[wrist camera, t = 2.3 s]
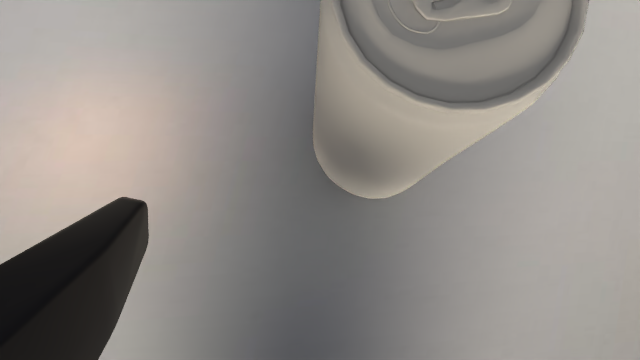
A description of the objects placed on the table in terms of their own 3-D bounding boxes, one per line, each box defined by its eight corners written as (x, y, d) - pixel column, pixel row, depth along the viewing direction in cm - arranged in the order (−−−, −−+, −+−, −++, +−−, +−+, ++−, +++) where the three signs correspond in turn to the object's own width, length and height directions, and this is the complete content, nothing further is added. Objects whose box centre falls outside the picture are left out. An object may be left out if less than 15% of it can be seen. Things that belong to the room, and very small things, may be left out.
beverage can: (303, 89, 22) (302, -124, 10) (423, 72, 22) (564, -155, 10) (322, 209, 21) (345, 138, 9) (445, 191, 21) (626, 99, 9)
